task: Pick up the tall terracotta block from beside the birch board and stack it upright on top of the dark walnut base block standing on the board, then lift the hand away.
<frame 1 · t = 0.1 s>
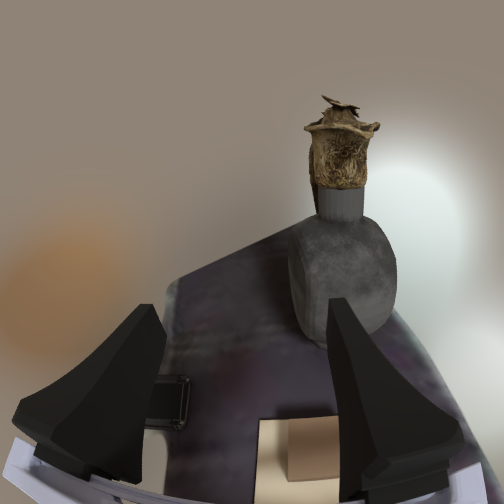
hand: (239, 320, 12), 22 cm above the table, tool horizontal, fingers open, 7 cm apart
base block: (318, 454, 23), point 1 cm above the table, touching board
board: (338, 462, 22), on the table
phone: (133, 403, 31), on the table
pitcher: (329, 324, 40), on the table
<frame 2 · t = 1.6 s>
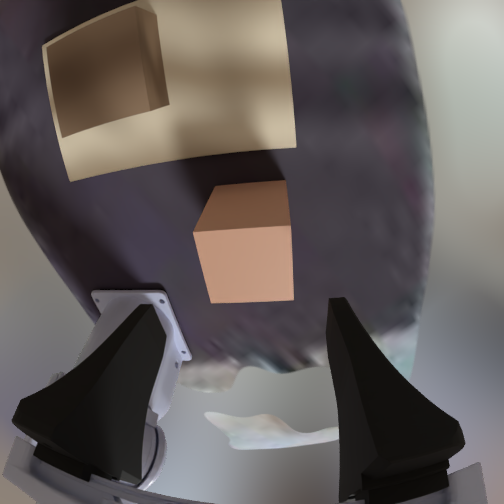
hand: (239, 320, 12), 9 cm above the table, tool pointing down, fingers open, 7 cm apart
base block: (117, 71, 14), point 1 cm above the table, touching board
top block: (253, 214, 19), on the table
board: (152, 77, 15), on the table
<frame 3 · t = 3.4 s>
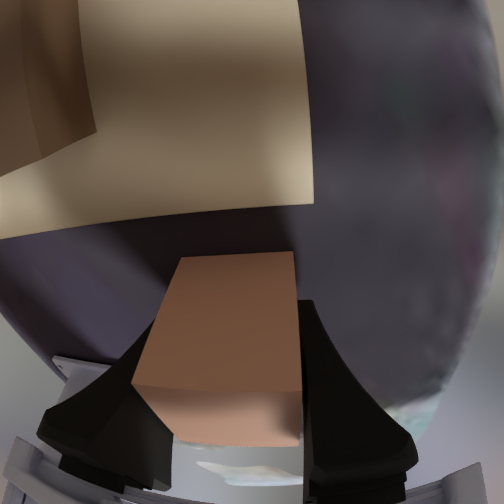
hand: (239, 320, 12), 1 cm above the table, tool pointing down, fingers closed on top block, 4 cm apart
base block: (27, 84, 7), point 1 cm above the table, touching board
top block: (242, 296, 13), on the table, touching gripper
board: (74, 87, 8), on the table
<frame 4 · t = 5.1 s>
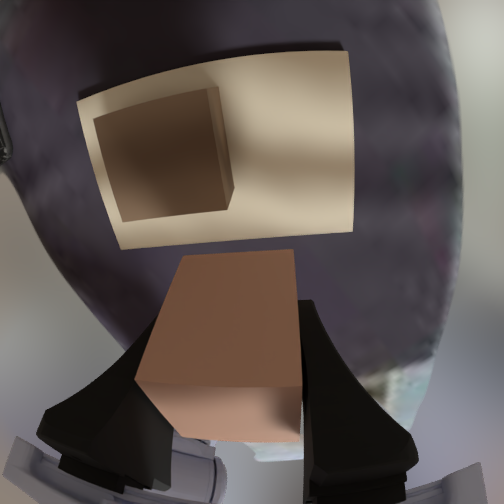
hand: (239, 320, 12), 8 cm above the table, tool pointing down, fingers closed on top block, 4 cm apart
base block: (175, 146, 16), point 1 cm above the table, touching board
top block: (243, 294, 13), point 7 cm above the table, touching gripper
board: (213, 154, 16), on the table
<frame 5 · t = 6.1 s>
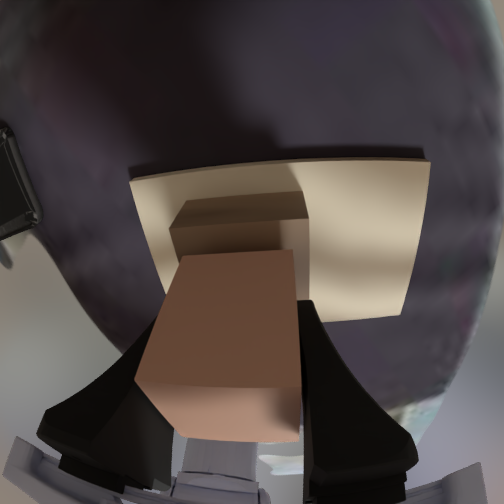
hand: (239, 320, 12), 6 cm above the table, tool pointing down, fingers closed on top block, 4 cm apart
base block: (249, 245, 16), point 1 cm above the table, touching board
top block: (243, 294, 13), point 5 cm above the table, touching gripper
board: (286, 252, 17), on the table
when the fingers open (6 cm above the table, at t = 6.8 s): top block stays where it is, resting on base block.
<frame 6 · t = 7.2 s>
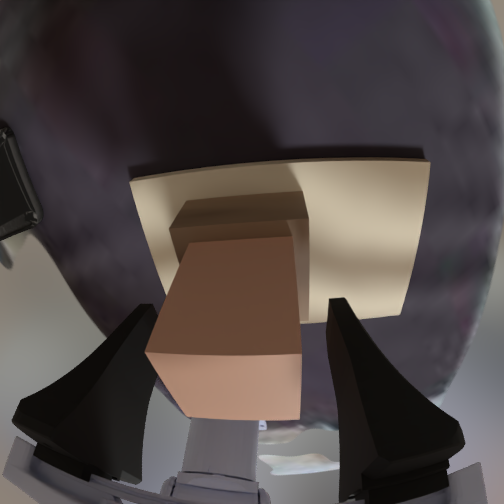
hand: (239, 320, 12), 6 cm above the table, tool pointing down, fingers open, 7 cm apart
base block: (249, 245, 16), point 1 cm above the table, touching board, top block
top block: (246, 280, 14), point 4 cm above the table, touching base block
board: (286, 252, 17), on the table
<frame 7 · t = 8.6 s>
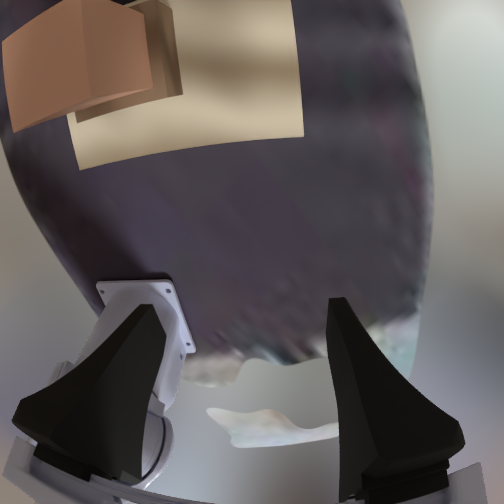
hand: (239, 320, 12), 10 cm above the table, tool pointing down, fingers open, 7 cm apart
base block: (132, 62, 14), point 1 cm above the table, touching board, top block
top block: (110, 61, 12), point 4 cm above the table, touching base block
board: (166, 68, 15), on the table
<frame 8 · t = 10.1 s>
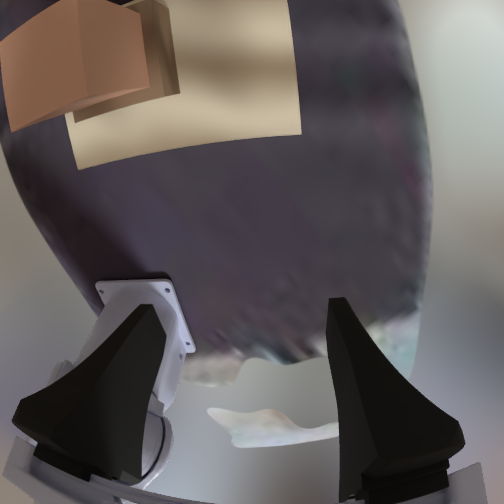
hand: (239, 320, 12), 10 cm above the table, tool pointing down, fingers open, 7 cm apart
base block: (130, 61, 14), point 1 cm above the table, touching board, top block
top block: (108, 61, 12), point 4 cm above the table, touching base block
board: (164, 67, 15), on the table
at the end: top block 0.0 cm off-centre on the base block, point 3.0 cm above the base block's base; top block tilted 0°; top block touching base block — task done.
